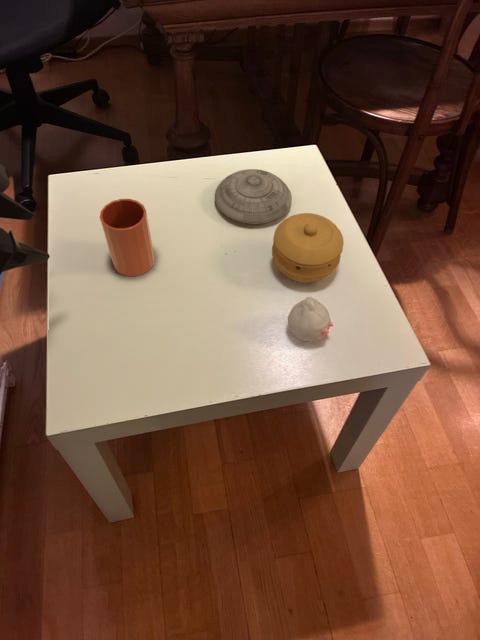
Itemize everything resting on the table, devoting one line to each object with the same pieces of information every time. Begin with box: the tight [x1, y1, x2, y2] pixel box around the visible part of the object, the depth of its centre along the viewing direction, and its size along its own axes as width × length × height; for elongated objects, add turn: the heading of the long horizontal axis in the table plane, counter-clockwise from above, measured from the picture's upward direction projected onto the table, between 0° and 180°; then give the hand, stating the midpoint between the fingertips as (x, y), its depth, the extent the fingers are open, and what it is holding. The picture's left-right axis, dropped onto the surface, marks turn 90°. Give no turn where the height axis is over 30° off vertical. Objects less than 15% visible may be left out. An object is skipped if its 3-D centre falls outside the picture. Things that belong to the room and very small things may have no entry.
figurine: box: [287, 296, 334, 342], centre depth 74 cm, size 6×7×8 cm
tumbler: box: [99, 198, 155, 277], centre depth 81 cm, size 7×7×11 cm
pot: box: [271, 212, 345, 283], centre depth 82 cm, size 12×12×10 cm
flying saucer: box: [214, 168, 293, 225], centre depth 93 cm, size 15×15×6 cm
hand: (39, 236), depth 70 cm, fingers open, 9 cm apart
